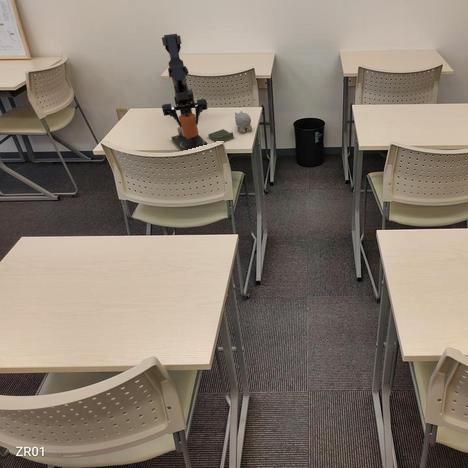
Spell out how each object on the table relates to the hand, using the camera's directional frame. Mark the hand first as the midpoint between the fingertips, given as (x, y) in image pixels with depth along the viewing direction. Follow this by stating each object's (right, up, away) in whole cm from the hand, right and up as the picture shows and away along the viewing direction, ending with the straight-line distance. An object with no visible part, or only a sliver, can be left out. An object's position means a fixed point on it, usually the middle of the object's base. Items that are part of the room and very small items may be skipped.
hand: (188, 125), depth 206 cm
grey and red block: (-5, -2, +13) cm, 14 cm away
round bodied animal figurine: (+20, +3, +22) cm, 30 cm away
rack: (+11, -3, +14) cm, 18 cm away
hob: (-2, -6, +10) cm, 12 cm away
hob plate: (0, -6, +6) cm, 9 cm away
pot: (0, -3, +4) cm, 5 cm away
